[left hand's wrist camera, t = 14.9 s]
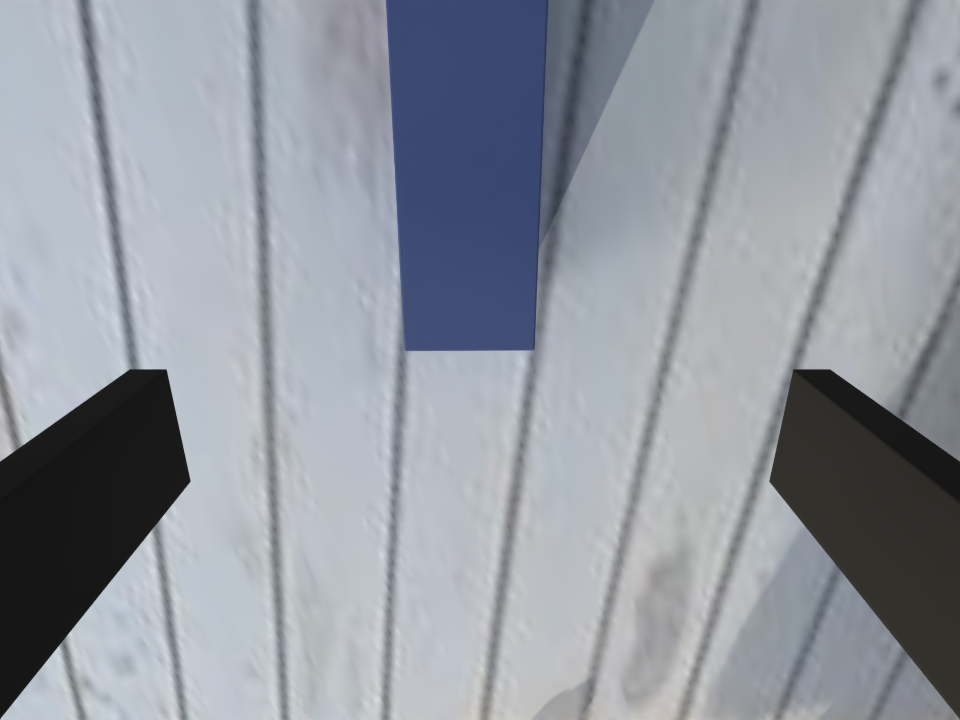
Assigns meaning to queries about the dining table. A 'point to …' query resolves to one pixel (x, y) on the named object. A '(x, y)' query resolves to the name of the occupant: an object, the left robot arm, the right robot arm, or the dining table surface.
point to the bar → (468, 168)
